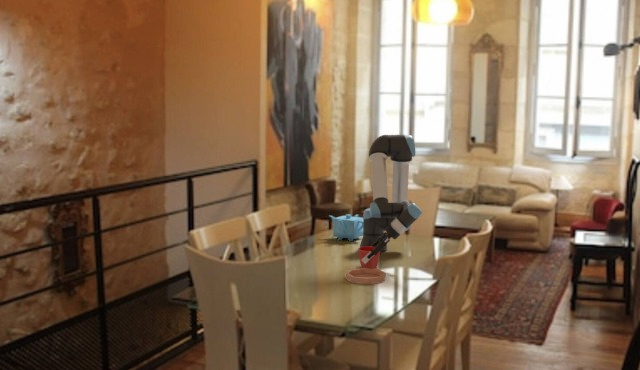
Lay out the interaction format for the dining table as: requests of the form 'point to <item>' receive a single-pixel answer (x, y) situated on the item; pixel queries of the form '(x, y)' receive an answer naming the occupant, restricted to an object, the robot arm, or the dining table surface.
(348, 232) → the teakettle
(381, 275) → the terracotta saucer
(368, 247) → the flower pot
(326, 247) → the dining table surface
